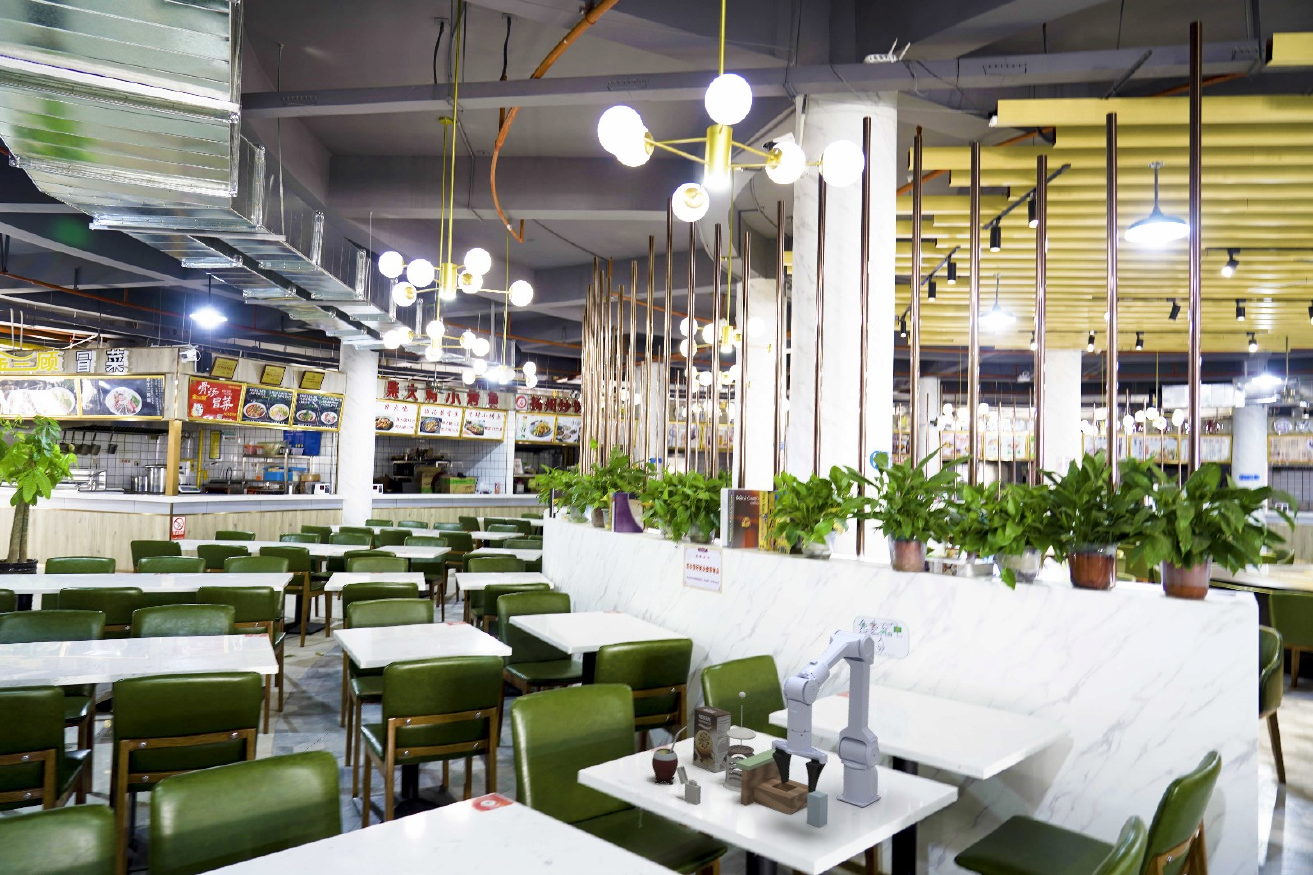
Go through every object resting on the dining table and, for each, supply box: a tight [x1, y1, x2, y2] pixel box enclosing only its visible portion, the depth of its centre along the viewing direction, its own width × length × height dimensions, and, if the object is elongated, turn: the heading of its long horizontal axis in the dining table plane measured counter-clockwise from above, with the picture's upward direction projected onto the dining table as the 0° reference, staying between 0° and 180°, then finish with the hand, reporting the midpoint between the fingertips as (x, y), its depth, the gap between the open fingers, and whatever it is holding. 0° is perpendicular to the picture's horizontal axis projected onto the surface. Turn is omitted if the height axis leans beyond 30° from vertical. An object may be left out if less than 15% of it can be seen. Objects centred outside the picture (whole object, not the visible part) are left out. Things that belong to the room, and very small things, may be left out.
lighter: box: [676, 765, 702, 806], centre depth 213 cm, size 7×2×8 cm, turn 48°
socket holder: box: [735, 748, 810, 816], centre depth 215 cm, size 18×14×10 cm
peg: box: [806, 790, 829, 829], centre depth 201 cm, size 4×4×7 cm
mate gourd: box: [651, 725, 687, 785], centre depth 227 cm, size 8×8×15 cm
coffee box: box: [692, 705, 732, 774], centre depth 239 cm, size 9×6×16 cm
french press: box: [716, 691, 757, 793], centre depth 226 cm, size 10×12×25 cm
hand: (798, 786), depth 197 cm, fingers open, 7 cm apart
